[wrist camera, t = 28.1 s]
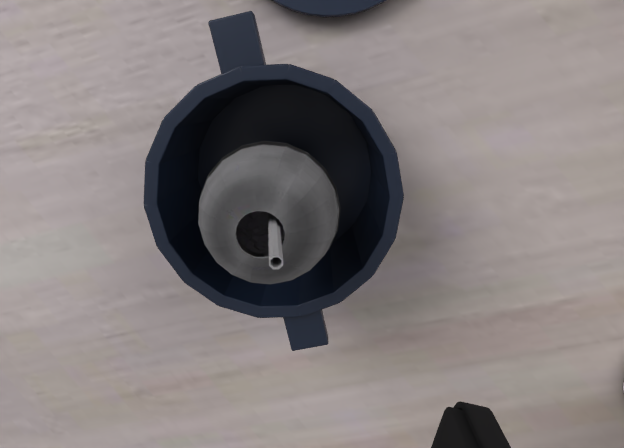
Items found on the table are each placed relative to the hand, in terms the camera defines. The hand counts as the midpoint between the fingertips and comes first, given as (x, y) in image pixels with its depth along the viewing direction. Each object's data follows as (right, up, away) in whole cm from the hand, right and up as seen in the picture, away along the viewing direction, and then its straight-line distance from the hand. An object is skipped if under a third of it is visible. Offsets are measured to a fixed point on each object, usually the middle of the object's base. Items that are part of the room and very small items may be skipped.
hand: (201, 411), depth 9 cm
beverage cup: (0, +7, +26) cm, 27 cm away
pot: (0, +7, +26) cm, 27 cm away
